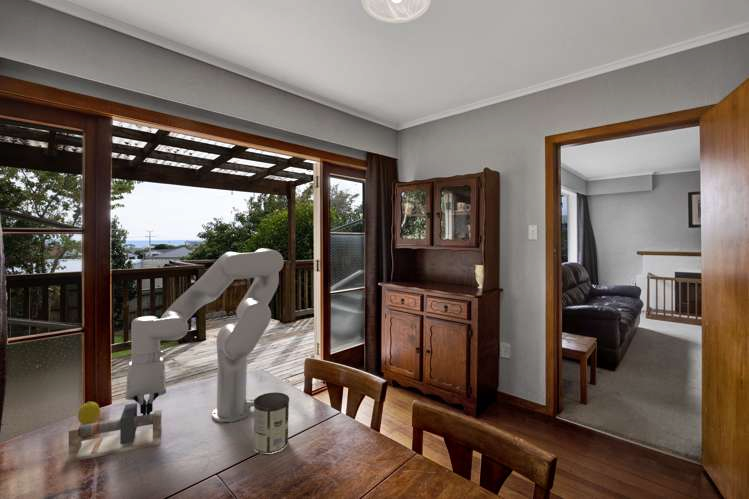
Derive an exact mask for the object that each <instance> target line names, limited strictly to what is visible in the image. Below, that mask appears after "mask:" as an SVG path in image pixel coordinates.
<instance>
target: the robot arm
mask: <svg viewBox="0 0 749 499" xmlns="http://www.w3.org/2000/svg"><path fill="white" fill-rule="evenodd" d="M284 264H285V260H284V257H283V255H282V254H281V253H280V252H279V251H277V250H276V249H275V250H274V249H271V248H266V247H262V248H257V250H255V251H254V252H253V251H252V252H236V251H227V252H225V253H223V254H221V255H220V257H219V258H218V259H217V260H216V261H214V263H213V264H212V265H211V266H210V267H209V268H208V269H207V271H206V272H204V274H203V275H201V277H200V278H199V279H198V280H196V281H195V283H194V284H192V285H191V286H190V287H189V288H188V289H187V290H186V291H184V292H183V293H182V294H181V295H180V296H179V297H177V298H176V300H175V301H174V302H172V304H171V305H170V306H169V307H168V308H167V309H166V310H165V312H164V313H163V314H162V315H161V317H160V318H159V317H157V316H155V315H145V316H139V317H135V318H134V319H133V320H131V327H130V330H131V331H130V332H131V333H130V334H131V335H130V336H131V361H129V364H128V367H127V374H126V388H125V390H126V393H125V394H126V395H125V397H124V398H125V400H126V401H132V400H134V401H135V403H136V402H137V404H139V409H140V410H139V411H140V413H139V414H140V415H148V414H151V413H152V412H153V411H154V410H153V404H154V401H155V400H156V399H157V398H158V397H160V396H163V395H165V394H166V393H167V388H166V368H165V362H164V358H163V356H166V350H165V351H163V350H161V341H178V340H181V339H182V338H184V337H185V336H186V335H187V333H188V332H189V323H188V321H189V319H190V318H192V316H193V315H194V314H195V313H196V312H197V311H198V310H199V309H200V308H202V307H203V306H205V305H207V304H209V303H212V302H215V301H216V300H217V299H219V298H220V296H221V295H222V294H223V293H224V291H225V290H226V289H227V288H228V287H229V286H230V285H231V284H232V283H233V282H234V280H244V279H253V281H252V284H251V285H250V287H249V289H247V292H246V293H245V295H244V297H243V298H242V300H241V301H240V302H239V304H238V306H236V307H237V308H236V311H235V312H236V316H237V318H238V321H237V323H228V324H225V325H224V326H222V327H221V328H220V329H219V330H218V333H217V336H216V354H217V372H216V373H217V374H216V375H217V376H216V377H217V379H216V380H217V381H216V382H217V384H216V408H214V409H213V410H212V411H211V418H212V420H213V421H216V422H217V421H218V423H222V422H229V423H235V422H238V420H239V421H241V420H243V418H244V419H246V418H247V417H248V416H249V415H250V413H251V410H252V408H254V400H255V399H256V397H255V398H251V399H249V398H248V397H247V374H248V373H247V372H248V370H247V369H248V366H247V365H248V357H249V356H250V354H251V353H253V351H254V349H255V348H256V347H257V346H258V343H259V341H260V339H261V338H262V336H263V335H264V333H265V331H266V330H267V329H268V327H269V325H270V322H271V318H272V311H271V308H270V306H269V304H270V303H271V301H272V299H273V298H274V295H275V293H276V291H277V289H278V286H279V281H280V276H279V274H280V273H279V272H281V270H282V269H283V267H284ZM145 395H148V399H147V400H146V399H145ZM251 407H252V408H251ZM234 421H235V422H234Z"/></svg>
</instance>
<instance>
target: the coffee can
mask: <svg viewBox="0 0 749 499" xmlns="http://www.w3.org/2000/svg"><path fill="white" fill-rule="evenodd" d="M289 404H290V397H289V395H288V394H285V393H282V392H275V391H274V392H267V393H263V394H261V395H258V396H257V397H255V400H254V406H253V446H254V448H253V450H254V449H255V450H256V451H258V452H260V453H272V452H275V451H279V450H281V449H282V448H284V447H285V446H286V445H287V443H288V444H289V415H290V414H289V412H290V411H289ZM255 450H254V451H255Z"/></svg>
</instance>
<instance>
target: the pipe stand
mask: <svg viewBox="0 0 749 499" xmlns="http://www.w3.org/2000/svg"><path fill="white" fill-rule="evenodd" d="M149 425H152V428H148V429H143V430H136V433H135V436H134V440H133V442H131V443H126V444H121V445H120V433H119V434H114V435H108V436H103V437H97V438H92V439H85V440H82V439H83V437H87V436H95V435H100V434H105V433H110V432H117V431H120V418H119V419H118V418H117V419H112V420H107V421H99V422H98V421H96V422H94V423H93V424H87V425H83V424H82V423H80V422H77V423H72V425H71V427H70V429H69V430H68V456H67V457H66V459H65V463H73V462H77V461H81V460H86V459H91V458H97V457H102V456H107V455H113V454H117V453H122V452H127V451H133V450H137V449H142V448H143V449H144V448H147V447H153V446H154V447H155V446H159V445H160V444H161V438H162V432H163V427H162V409H159V410H153V413H150V414H148V415H147V414H146V415H143V414H141V415H137V416H136V417H134V427H137V428H139V427H145V426H149Z"/></svg>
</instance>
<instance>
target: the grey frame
mask: <svg viewBox="0 0 749 499" xmlns="http://www.w3.org/2000/svg"><path fill="white" fill-rule="evenodd" d="M136 416H138V402H137V403H136V402H135V403H129V404H128V403H127V404H125V406H124V408H123V410H122V413H121V415H120V418H119V419H120V430H119V431H120V433H119V434H120V445H121V444H126V443H131V442H133V440H134V436H135V433H136V431H137V428H138V427H134V417H136Z"/></svg>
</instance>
